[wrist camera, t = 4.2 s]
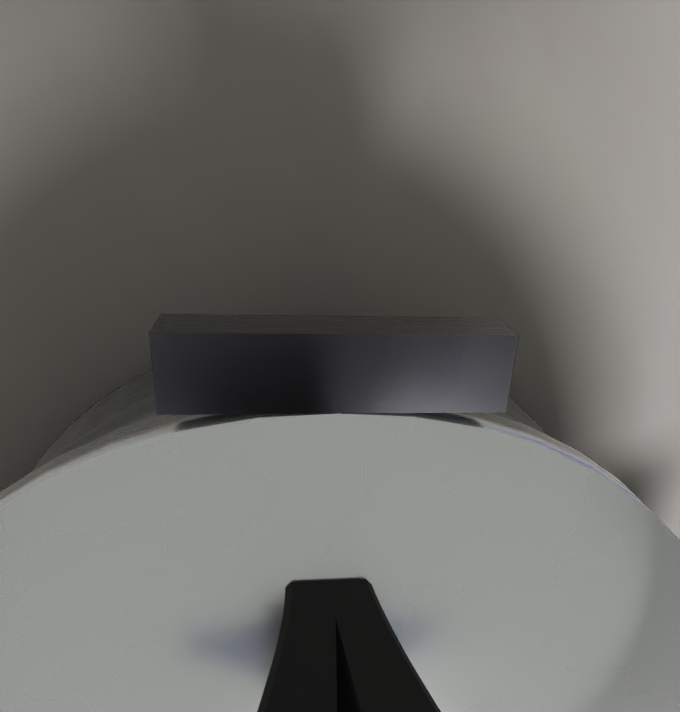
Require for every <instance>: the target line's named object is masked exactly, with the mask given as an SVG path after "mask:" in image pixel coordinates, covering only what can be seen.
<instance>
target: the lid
mask: <svg viewBox="0 0 680 712" xmlns="http://www.w3.org/2000/svg"><path fill="white" fill-rule="evenodd" d="M149 335H150V346H151V358H152V369H153V381H154V392H155V404H156V415H162V416H159V417H155V418H152V419H149V420H146V421H142V422H139V423H136V424H133V425H129V426H126V427H123V428H120V429H118V430H115V431H113V432H111V433H109V434H106V435H104V436H102V437H100V438H98V439H95V440H93V441H91V442H89V443H86V444H84V445H82V446H80V447H78V448H75V449H73V450H71V451H69V452H67V453H64V454H62V455H60V456H58V457H56V458H54V459H52V460H51V461H49V462H48V463H46V464H44V465H43V466H41V467H40V468H38V469H36V470H35V471H33V472H31V473H30V474H28V475H27V476H25V477H23V478H22V479H20V480H19V481H17V482H15V483H14V484H12V485H11V486H9V487H7V488H6V489H4V490H2V491H1V492H0V712H257V711H258V708H259V704H260V701H261V698H262V695H263V691H264V688H265V684H266V681H267V678H268V674H269V671H270V668H271V664H272V661H273V657H274V653H275V649H276V645H277V641H278V637H279V632H280V628H281V623H282V617H283V610H284V603H285V587H286V586H288V585H289V584H290V583H291V582H296V581H321V580H345V579H367V580H368V581H369V582H370V583H371V584H372V586H373V589H374V591H375V594H376V596H377V598H378V600H379V602H380V605H381V607H382V609H383V611H384V613H385V615H386V617H387V619H388V621H389V623H390V625H391V627H392V629H393V631H394V632H395V634H396V636H397V638H398V640H399V642H400V643H401V645H402V647H403V649H404V651H405V653H406V654H407V656H408V658H409V660H410V661H411V663H412V665H413V667H414V668H415V670H416V672H417V673H418V675H419V677H420V678H421V680H422V682H423V683H424V685H425V686H426V688H427V690H428V691H429V693H430V695H431V696H432V698H433V700H434V701H435V703H436V705H437V706H438V708H439V709H440V711H441V712H680V539H679V538H678V537H677V536H676V535H675V534H674V533H673V532H672V531H671V530H670V529H669V528H668V527H667V526H666V525H665V524H664V523H663V522H662V521H661V520H660V519H659V518H658V517H657V516H656V515H655V514H654V513H653V512H652V511H651V510H650V509H649V508H648V507H647V506H646V505H645V504H644V503H643V502H642V501H641V500H640V499H639V498H638V497H637V496H636V495H635V494H634V493H632V492H631V491H630V490H629V489H628V488H627V487H626V486H625V485H624V484H623V483H622V482H621V481H620V480H619V479H618V478H617V477H615V476H614V475H612V474H611V473H610V472H608V471H607V470H605V469H604V468H602V467H601V466H599V465H598V464H597V463H595V462H594V461H592V460H591V459H589V458H588V457H586V456H585V455H584V454H582V453H581V452H579V451H578V450H576V449H575V448H572V447H570V446H568V445H566V444H564V443H562V442H560V441H558V440H556V439H554V438H552V437H550V436H548V435H546V434H544V433H542V432H540V431H538V430H536V429H533V428H531V427H529V426H527V425H525V424H522V423H519V422H516V421H513V420H510V419H507V418H504V417H501V416H497V415H494V414H491V413H489V412H506V409H507V403H508V397H509V391H510V385H511V380H512V374H513V368H514V362H515V356H516V351H517V345H518V339H519V335H518V334H517V333H515V332H514V331H513V330H512V329H511V328H509V327H508V326H507V325H506V324H505V323H503V322H502V321H501V320H500V319H499V318H450V317H367V316H285V315H202V314H161V315H160V317H159V319H158V320H157V322H156V323H155V325H154V326H153V328H152V329H151V331H150V332H149Z"/></svg>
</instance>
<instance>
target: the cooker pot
mask: <svg viewBox="0 0 680 712" xmlns="http://www.w3.org/2000/svg"><path fill="white" fill-rule="evenodd" d="M489 413H491V414H494V415H497V416H501V417H504V418H507V419H510V420H513V421H516V422H519V423H522V424H525V425H527V426H529V427H531V428H533V429H536V430H538V431H540V432H542V433H544V434H546V433H545V432H544V431H543V430H542V429H541V428H540V426H539V425H538V424H537V423H536V422H535V421H534V420H533V419H532V418H531V417H530V416H529V415H528V414H527V413H526V412H525V411H523V410H522V409H521V408H520V407H519V406H518V405H517V404H516V403H515V402H514V401H513V400H512V399H511V398H510V397H508V403H507V409H506V412H489ZM159 416H162V415H156V404H155V392H154V381H153V369H152V370H150V371H148V372H146V373H144V374H141V375H139V376H137V377H136V378H134V379H132V380H131V381H129V382H128V383H126V384H125V385H123V386H121V387H120V388H118V389H117V390H115V391H113V392H112V393H110V394H109V395H107V396H105V397H104V398H102V399H101V400H99V401H98V402H97V403H96V404H95V405H93V406H92V407H91V408H90V409H89V410H88V411H86V412H85V413H84V414H83V415H82V416H80V417H79V418H78V419H77V420H76V421H75V422H73V423H72V424H71V425H70V426H69V427H68V428H67V429H66V430H65V431H64V432H63V433H62V435H61V436H60V437H59V438H58V439H57V440H56V441H55V442H54V444H53V445H52V446H51V447H50V448H49V449H48V450H47V452H46V453H45V454H44V455H43V456H42V457H41V459H40V460H39V462H38V463H37V464H36V466H35V467H34V468H33V470H32V471H31V472H33V471H35V470H36V469H38V468H40V467H41V466H43V465H44V464H46V463H48V462H49V461H51V460H52V459H54V458H56V457H58V456H60V455H62V454H64V453H67V452H69V451H71V450H73V449H75V448H78V447H80V446H82V445H84V444H86V443H89V442H91V441H93V440H95V439H98V438H100V437H102V436H104V435H106V434H109V433H111V432H113V431H115V430H118V429H120V428H123V427H126V426H129V425H133V424H136V423H139V422H142V421H146V420H149V419H152V418H155V417H159ZM546 435H547V434H546ZM31 472H30V473H31Z"/></svg>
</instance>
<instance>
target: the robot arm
mask: <svg viewBox="0 0 680 712" xmlns="http://www.w3.org/2000/svg"><path fill="white" fill-rule="evenodd" d="M257 712H441V711H440V709H439V708H438V706H437V705H436V703H435V701H434V700H433V698H432V696H431V695H430V693H429V691H428V690H427V688H426V686H425V685H424V683H423V682H422V680H421V678H420V677H419V675H418V673H417V672H416V670H415V668H414V667H413V665H412V663H411V661H410V660H409V658H408V656H407V654H406V653H405V651H404V649H403V647H402V645H401V643H400V642H399V640H398V638H397V636H396V634H395V632H394V631H393V629H392V627H391V625H390V623H389V621H388V619H387V617H386V615H385V613H384V611H383V609H382V607H381V605H380V602H379V600H378V598H377V596H376V594H375V591H374V589H373V586H372V584H371V583H370V582H369V581H368V580H367V579H345V580H321V581H296V582H291V583H290V584H289V585H288V586H286V587H285V603H284V610H283V617H282V623H281V628H280V632H279V637H278V641H277V645H276V649H275V653H274V657H273V661H272V664H271V668H270V671H269V674H268V678H267V681H266V684H265V688H264V691H263V695H262V698H261V701H260V704H259V708H258V711H257Z"/></svg>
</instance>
